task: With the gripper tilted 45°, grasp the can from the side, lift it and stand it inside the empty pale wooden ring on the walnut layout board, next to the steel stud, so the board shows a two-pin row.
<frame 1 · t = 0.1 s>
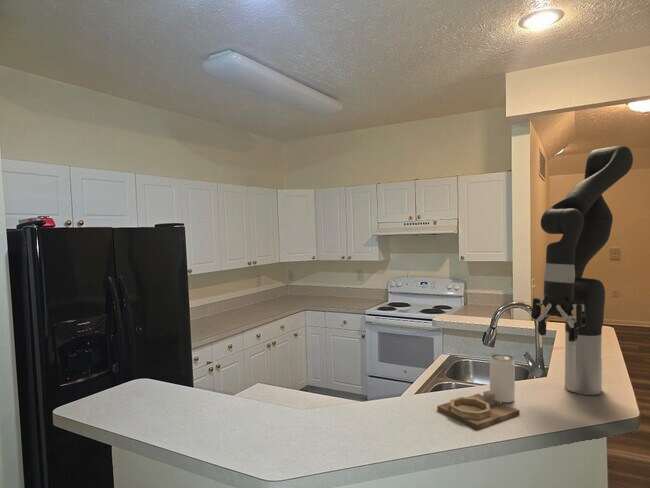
hand: (556, 338, 119), 17 cm above the counter, tool pointing down, fingers open, 8 cm apart
layout board: (477, 412, 111), on the counter
can: (502, 399, 120), on the counter
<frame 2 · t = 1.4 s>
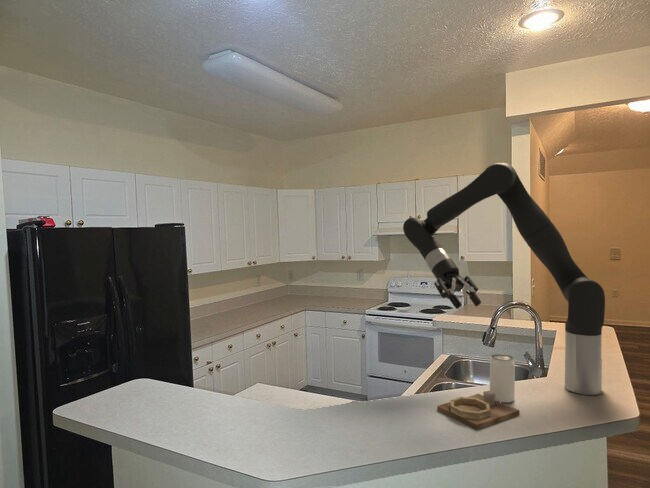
hand: (469, 305, 129), 25 cm above the counter, tool tilted 45°, fingers open, 8 cm apart
nothing on the counter moved.
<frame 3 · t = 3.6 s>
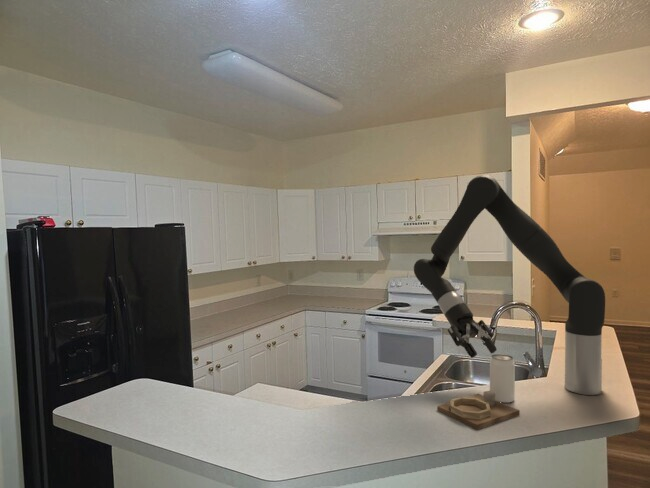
hand: (484, 354, 125), 11 cm above the counter, tool tilted 45°, fingers open, 8 cm apart
nothing on the counter moved.
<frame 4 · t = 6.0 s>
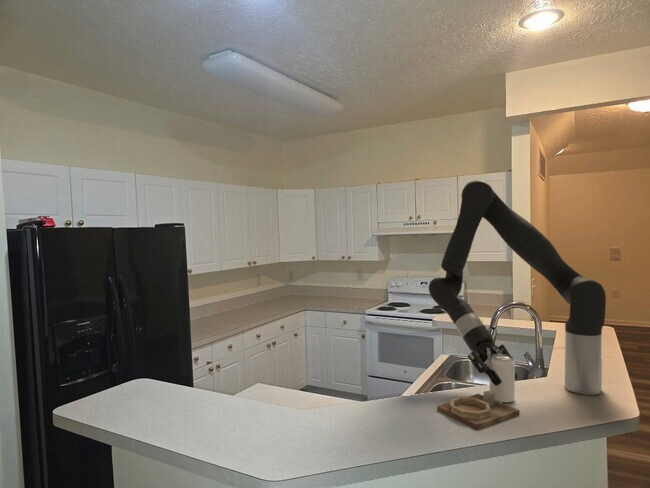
hand: (507, 381, 118), 5 cm above the counter, tool tilted 45°, fingers closed on can, 6 cm apart
can: (502, 399, 120), on the counter, touching gripper
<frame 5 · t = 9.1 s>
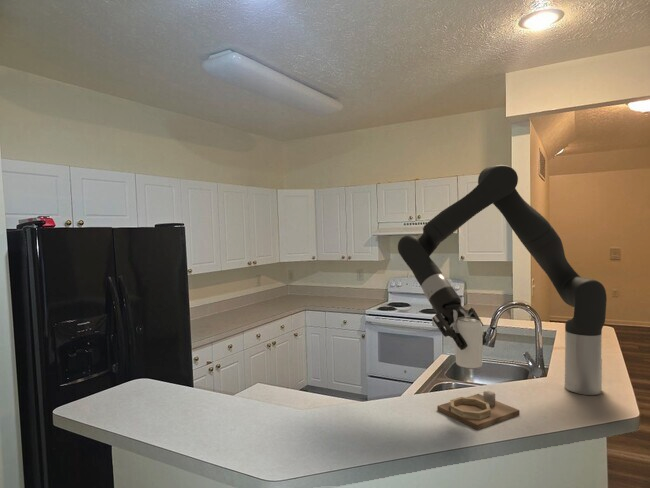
hand: (474, 346, 108), 18 cm above the counter, tool tilted 45°, fingers closed on can, 6 cm apart
can: (468, 365, 110), point 13 cm above the counter, touching gripper
when the fingers open (7 cm above the counter, at t = 12.3 s): can stays where it is, resting on layout board.
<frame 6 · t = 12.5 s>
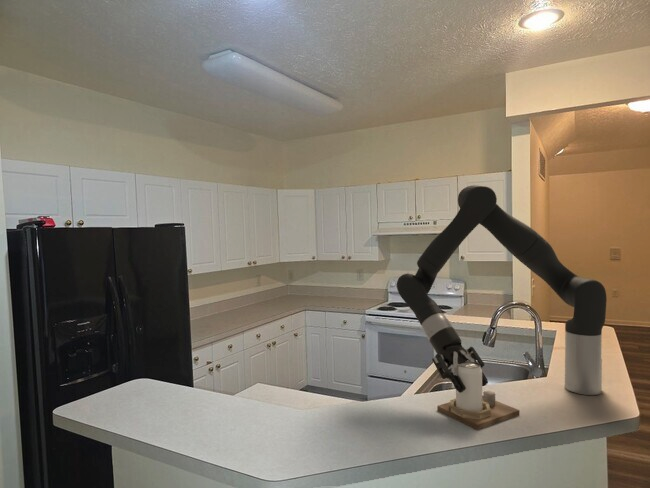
hand: (474, 387, 108), 8 cm above the counter, tool tilted 45°, fingers open, 8 cm apart
can: (469, 410, 110), point 1 cm above the counter, touching layout board
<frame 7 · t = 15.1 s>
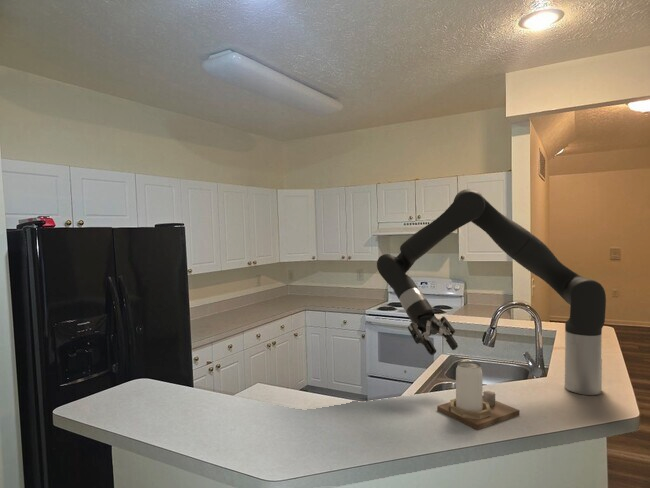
hand: (445, 351, 122), 13 cm above the counter, tool tilted 45°, fingers open, 8 cm apart
nothing on the counter moved.
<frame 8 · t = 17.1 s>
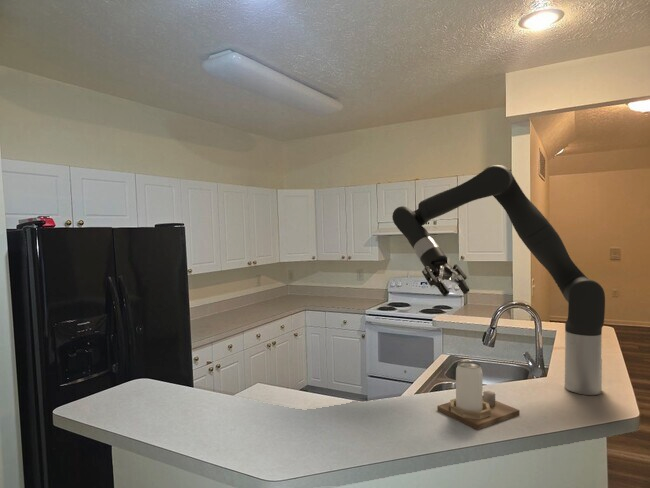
hand: (457, 293, 128), 29 cm above the counter, tool tilted 45°, fingers open, 8 cm apart
nothing on the counter moved.
at the end: can 0.2 cm from the target spot on the layout board, point 1.0 cm above the layout board's base; can tilted 0°; the gripper is holding nothing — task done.
